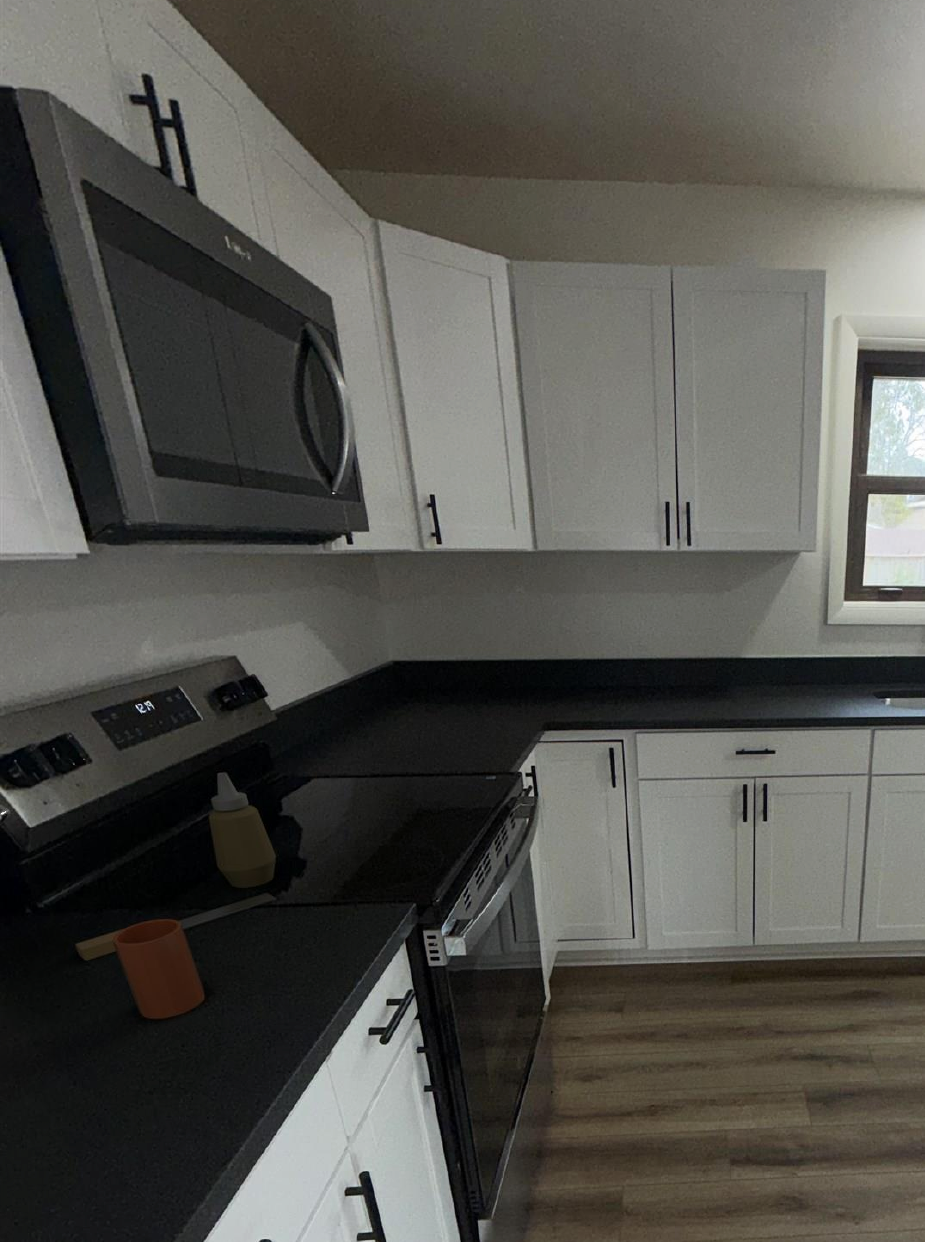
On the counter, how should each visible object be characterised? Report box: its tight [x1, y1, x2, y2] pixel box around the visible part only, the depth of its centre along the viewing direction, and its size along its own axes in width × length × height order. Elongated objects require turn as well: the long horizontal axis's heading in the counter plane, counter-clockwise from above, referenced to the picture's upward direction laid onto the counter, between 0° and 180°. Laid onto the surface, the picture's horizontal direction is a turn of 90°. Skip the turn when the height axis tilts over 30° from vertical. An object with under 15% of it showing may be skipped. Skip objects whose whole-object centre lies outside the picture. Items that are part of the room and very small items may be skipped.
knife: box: [75, 892, 277, 962], centre depth 113 cm, size 24×3×2 cm, turn 142°
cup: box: [112, 918, 206, 1020], centre depth 92 cm, size 6×6×10 cm
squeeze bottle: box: [208, 771, 277, 889], centre depth 123 cm, size 8×8×18 cm
